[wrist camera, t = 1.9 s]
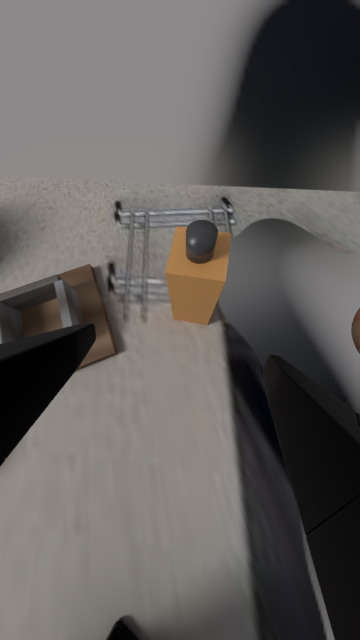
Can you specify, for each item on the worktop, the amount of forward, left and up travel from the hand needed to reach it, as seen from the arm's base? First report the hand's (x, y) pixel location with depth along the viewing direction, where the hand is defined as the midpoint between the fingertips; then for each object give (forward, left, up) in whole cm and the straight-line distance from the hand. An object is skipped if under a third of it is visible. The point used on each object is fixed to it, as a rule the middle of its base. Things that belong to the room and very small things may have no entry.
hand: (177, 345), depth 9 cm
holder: (+17, +6, -14) cm, 23 cm away
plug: (+3, -7, -14) cm, 16 cm away
